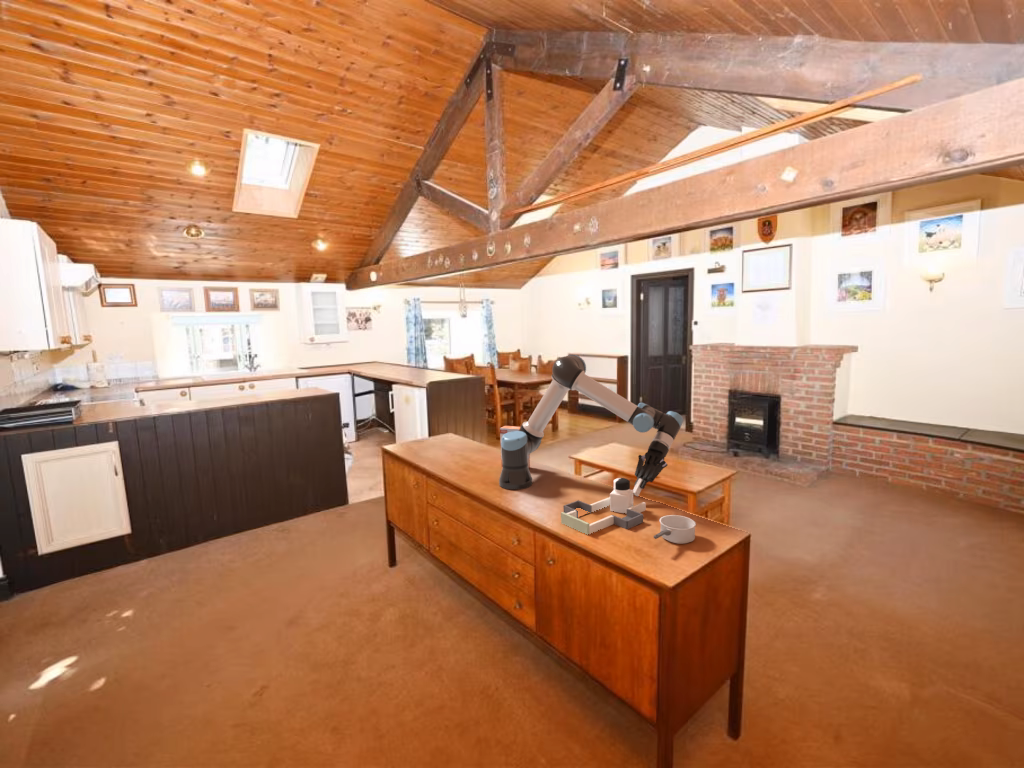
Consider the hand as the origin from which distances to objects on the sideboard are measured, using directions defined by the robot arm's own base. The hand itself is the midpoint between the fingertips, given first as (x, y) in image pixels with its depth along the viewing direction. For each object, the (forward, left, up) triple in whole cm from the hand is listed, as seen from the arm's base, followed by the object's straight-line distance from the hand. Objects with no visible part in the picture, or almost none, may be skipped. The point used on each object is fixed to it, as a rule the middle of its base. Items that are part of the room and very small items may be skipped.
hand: (635, 494), depth 181 cm
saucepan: (+33, -2, -4) cm, 33 cm away
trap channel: (+8, -15, -4) cm, 18 cm away
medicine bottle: (+4, -7, -4) cm, 9 cm away
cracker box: (-61, -38, -4) cm, 71 cm away
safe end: (+16, -30, -4) cm, 34 cm away
